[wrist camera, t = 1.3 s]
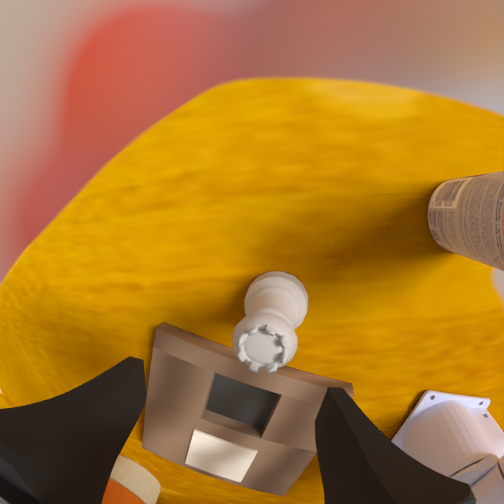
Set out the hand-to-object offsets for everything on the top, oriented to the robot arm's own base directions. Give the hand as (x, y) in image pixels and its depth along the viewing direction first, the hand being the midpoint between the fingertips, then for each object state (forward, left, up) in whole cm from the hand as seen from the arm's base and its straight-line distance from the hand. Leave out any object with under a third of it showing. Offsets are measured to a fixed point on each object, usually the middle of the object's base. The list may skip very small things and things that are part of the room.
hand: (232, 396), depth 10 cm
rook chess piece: (-1, -1, -11) cm, 11 cm away
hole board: (-1, +12, -11) cm, 17 cm away
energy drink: (-12, -11, -11) cm, 19 cm away
